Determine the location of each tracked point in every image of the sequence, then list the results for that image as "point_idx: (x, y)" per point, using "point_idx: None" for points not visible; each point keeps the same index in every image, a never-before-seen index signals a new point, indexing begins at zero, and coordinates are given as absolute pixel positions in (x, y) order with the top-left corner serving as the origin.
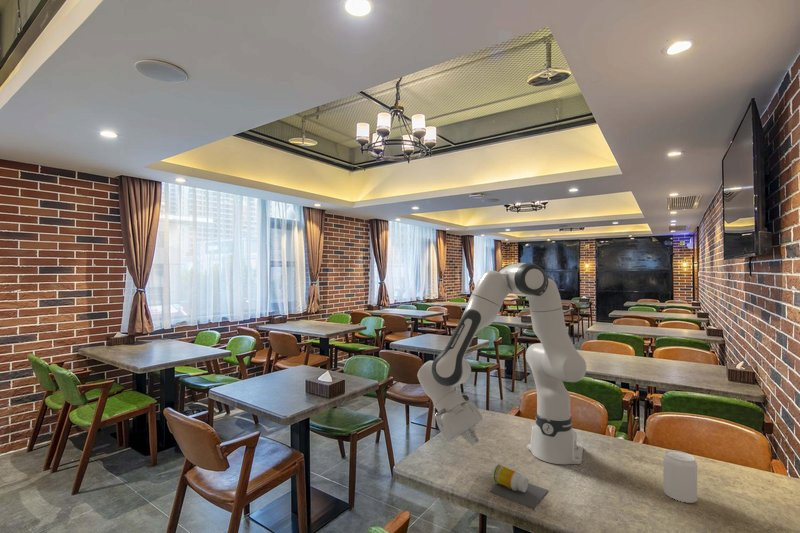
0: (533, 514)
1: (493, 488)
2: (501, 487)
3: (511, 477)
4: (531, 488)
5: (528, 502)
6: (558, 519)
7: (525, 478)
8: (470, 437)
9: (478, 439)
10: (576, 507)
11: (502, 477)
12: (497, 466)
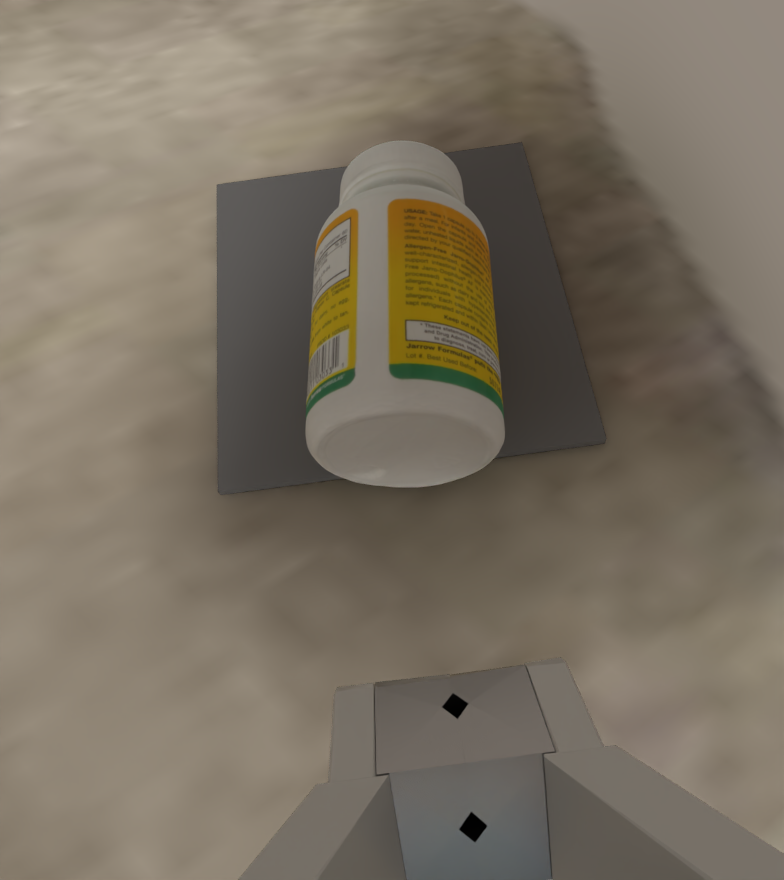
0: (574, 126)
1: (544, 437)
2: None
3: (471, 226)
4: (285, 256)
5: (487, 186)
6: (492, 42)
7: (393, 143)
8: (662, 776)
9: (356, 693)
10: (287, 40)
11: (494, 319)
12: (436, 375)
